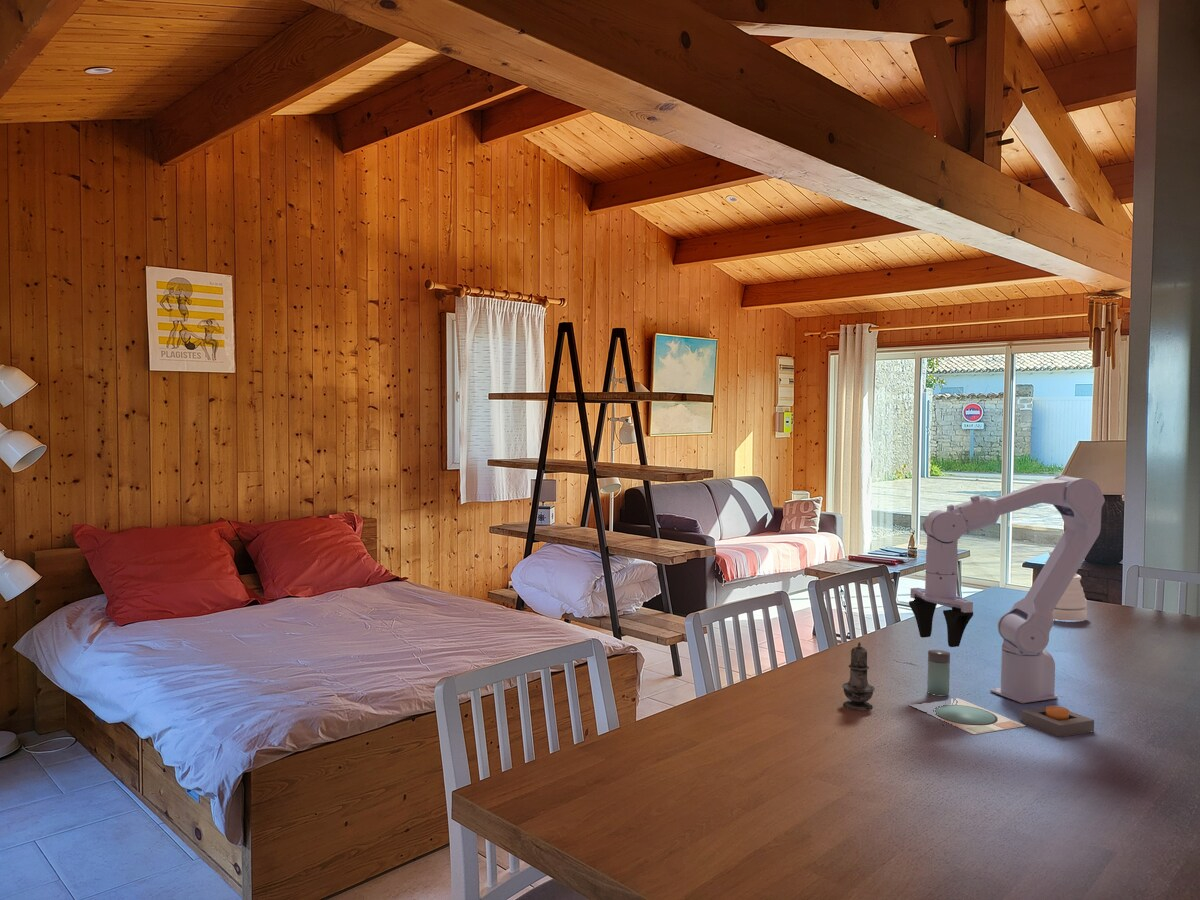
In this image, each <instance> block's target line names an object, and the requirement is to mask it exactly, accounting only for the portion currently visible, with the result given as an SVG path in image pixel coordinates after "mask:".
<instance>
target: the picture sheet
mask: <svg viewBox="0 0 1200 900" xmlns="http://www.w3.org/2000/svg"><path fill="white" fill-rule="evenodd" d="M955 698H956V700H957V701H958V703H957V705H955V704H956V700H955V701H954V703H953V698H950V699H951V704H950V705H946V702H945V705H943V706H941V707H940V706H938V708H937V707H936V708H935V709H936V710H935V712H936V714H935V715H937V714H938V715H937V716H938V717H939V718H938V720H939V719H940V718H941V720H940V721H942V722H944V721H945V722H944V723H946V722H947V723H946V724H948V723H949V725H951V724H952V725H951V726H953V727H955V726H956V727H955V728H957V727H958V728H957V729H960V730H963V732H964V731H965V732H966V733H968V734H971V735H979V734H986V733H991V732H998V731H1004V730H1010V729H1017V728H1022V727H1027V724H1025V723H1024V724H1023V723H1022V722H1018V721H1016V720H1013V719H1011V718H1008V717H1006V716H1004V715H1001V714H999V713H996V712H994V711H991V710H988V709H986V708H983V707H982V706H981V707H980V706H978V705H976V704H974V703H971V702H968V701H966V700H963V699H961V698H958V697H955ZM952 703H953V705H952ZM939 708H940V709H939ZM933 712H934V709H933ZM935 719H937V717H936V718H935ZM942 719H943V720H942Z"/></svg>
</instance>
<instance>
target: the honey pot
mask: <svg viewBox="0 0 1200 900" xmlns="http://www.w3.org/2000/svg"><path fill="white" fill-rule="evenodd" d="M1048 551H1049V552H1048V554H1049V556H1050V555H1051V553H1052V552H1053V550H1048ZM1081 580H1082V576H1081V575H1080V574H1078V573H1077V572H1076V574H1075V575H1074V577H1073V579H1072V580H1071V582H1070V584H1069V585H1068V587H1067V589H1066V590H1065V592H1064V594H1063V595H1062V597H1061V599H1060V600H1059V602H1058V603H1057V605H1056V607H1055V608H1054V610H1053V612H1052V615H1053V619H1058V620H1083V619H1086V618H1087V616H1088V614H1087V613H1088V600H1087V598H1086V596H1085V594H1086V593H1085V592H1084V588H1083V586H1082V584H1081Z"/></svg>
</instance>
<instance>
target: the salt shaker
mask: <svg viewBox="0 0 1200 900" xmlns="http://www.w3.org/2000/svg"><path fill="white" fill-rule="evenodd" d="M861 645H862V644H861V642H860V641H858V643H857V645H856V646H854V647H853V648H851V651H850V664H848V668H850V672H849V680H848V682H845V683H844V682H843V684H842V685H841V687H842V689H843V693H844V696H845V697H846V698H847V700H846V701H844V702H843V707H845V708H846V709H849V710H852V711H858V710H861V711H862V710H863V711H864V710H867V711H870V709H871V710H872V709H873V707H874V706H873V704H871V703H870V702H868V701H870V700H871V699H872V697H873V695H874V692H875V689H876V688H875V687H874V686H873V685H872V684H870V683H869V681H868V670H869V669H870V666H868V651H867V649H866V648H864V647H863V646H861ZM861 711H860V712H861ZM863 711H862V712H863Z"/></svg>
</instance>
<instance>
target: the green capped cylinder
mask: <svg viewBox="0 0 1200 900" xmlns="http://www.w3.org/2000/svg"><path fill="white" fill-rule="evenodd" d="M950 666H951V652H949V651H947V650H942V649H929V650H928V651H927V679H926V681H927V682H926V683H927V685H926V686H927V687H926V691H927V693H928V692H929V693H931V694H935V695H948V694H949V695H950V678H951V677H950V675H951V674H950V671H951V668H950ZM929 693H928V694H929ZM931 694H930V695H931ZM935 695H934V696H935ZM949 695H948V696H949Z"/></svg>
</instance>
